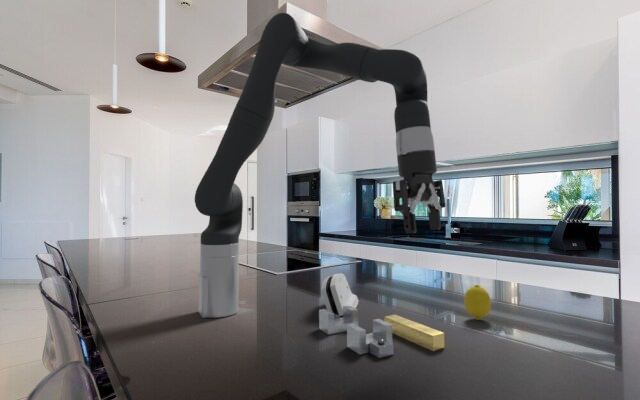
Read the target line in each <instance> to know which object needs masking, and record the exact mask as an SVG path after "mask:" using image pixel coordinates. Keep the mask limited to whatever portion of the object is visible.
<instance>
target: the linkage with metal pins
mask: <svg viewBox="0 0 640 400" xmlns="http://www.w3.org/2000/svg"><path fill="white" fill-rule="evenodd" d="M318 321H319V323H318V326H319V327H318V329H319V330H320V331H322V332H323V333H325V334H327V335H333V334H339V333H344V332H346V347H347V348H349V349H350V350H352V352H353V351H354V352H355V353H357V355H364V354H368V353H369V354H371V355H373V356H374V357H377V358H378V359H382V358H386V357H389V356H393V355H394V343H393V333H392V324H390V323H387V322H385V321H384V320H383V319H381V318H376V319H372V332H370V333H366V332H367V331H366V330H367V329H364V328H363V327H360V326H359V309H358V308H357V307H356V308H353V307H351V306H349V305H347V306H343V315H342V317H341V316H339V315H336V314H334V313H332V312H330V311H328V310H327V308H322V309H319V310H318Z"/></svg>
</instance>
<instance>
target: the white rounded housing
mask: <svg viewBox="0 0 640 400" xmlns="http://www.w3.org/2000/svg"><path fill="white" fill-rule="evenodd" d="M321 295H322V298H323V301H324V304H325V309H326V310H328V311H330V312H332V313H334V314H336V315H338V316H340V317H341V316H342V317H343V306H347V305H349V306H351V307H353V308H356V309H357V306H358V305H359V303H360V301H359V299H358V295H356V294H354V293H353V292H352V290H351V288H350V285H349V283H348V281H347V277H346V276H345V274H344V273H342V272H341V273H340V272H339V273H335V274H333V275H329V276H327V277H326V278H324V280H323V282H322V285H321ZM358 302H359V303H358Z"/></svg>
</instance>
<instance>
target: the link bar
mask: <svg viewBox="0 0 640 400" xmlns="http://www.w3.org/2000/svg"><path fill="white" fill-rule="evenodd" d="M383 321H385V322H387V323H390V324H392V335H393V334H394V335H396V336H398V337H400V338H402V339H405V340H406V341H409V342H412V343H414V344H416V345H419V346H420V347H423V348H425V349H427V350H430V351H432V352H435V351H438V350H442V349H445V332H444V331H443V332H442V331H441V330H437V329H435V328H432V327H429V326H427V325H424V324H421V323H419V322H417V321H413V320H410V319H408V318H405V317H402V316H400V315H397V314H390V315H386V316H384V320H383Z"/></svg>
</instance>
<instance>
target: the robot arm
mask: <svg viewBox="0 0 640 400" xmlns="http://www.w3.org/2000/svg"><path fill="white" fill-rule="evenodd" d="M261 34H262V35H261V37H260V40H259V44H258V47H257V50H256V53H255V57H254V60H253V63H252V65H251V68H250V70H249V73H248V76H247V79H246V81H245V84H244V87H243V90H242V92H241V95H240V96H239V98H238V100H237V102H236V105H235V106H234V109H233V112H232V114H231V115H230V118H229V122H228V124H227V127H226V129H225V130H224V133H223V136H222V138H221V140H220V142H219V144H218V147H217V150H216V152H215V154H214V156H213V158H212V159H211V160H212V161H211V162H210V163H209V165H208V166H207V167H208V168H207V169H206V170H205V173H204V175H203V176H202V178H201V180H200V181H199V183H198V185H197V187H196V190H195V194H194V204H195V207H196V209H197V210H198V212H199V213H200V214H202V215H203V216H207V217H209V221H208V225H207V226H206V228H204V230H203V231H202V232H201V234H200V254H199V255H200V261H199V262H200V269H199V271H200V273H199V274H198V304H197V305H198V306H197V307H198V311H197V312H198V313H199V316H200V317H201V318H203V319H205V318H222V317H223V318H225V317H228V316H233V315H235V314H237V313H238V312H239V304H240V302H239V275H240V274H239V268H240V267H239V263H240V262H239V254H240V252H239V251H240V250H239V249H240V246H239V244H240V243H239V242H240V241H239V238H240V234H241V231H242V228H243V226H242V225H243V212H244V211H243V207H244V205H243V204H244V200H243V199H244V198H243V193H242V191H241V188H240V187H239V186H238V184H236V183H235V181H236V178H237V176H238V173H239V172H240V170H241V168H242V166H243V165H244V163H246V161H247V160H248V159H249V158H250V156H252V154H253V153H254V152H255V151H256V150H257V148H258V147H259V146H260V145H261V144H262V143H263V140H264V139H265V137H266V134H267V133H268V130H269V128H270V126H271V123H272V120H273V118H274V114H275V110H276V109H275V105H276V84H277V78H278V75H279V72H280V70H281V66H282V64H283V65H285V66H288V67H295V68H296V67H297V68H306V69H308V68H309V69H313V70H314V69H315V70H321V71H327V72H332V73H336V74H339V75H342V76H346V77H350V78H353V79H356V80H359V81H363V82H366V83H376V82H378V81H379V82H382V83H383V82H384V83H386V84H390V85H391V86H392V87H393V89H394V95H395V105H396V106H395V108H394V114H393V116H394V117H393V118H394V126H395V127H394V128H395V150H396V159H397V160H396V161H397V169H398V176H399V177H400V178H403V179H399V180H393V182H392V194H393V195H392V196H393V208H394V211H395V212H399V213H400V214H401V215H402V217H403V218H402V219H403V227H404V231H405V234H416V233H417V231H418V230H417V221H416V214H415V210H416V208H417V205H419V204H420V202H421V204H422V205H424V206H425V207H426V209H427V210H428V222H429V229H430V230H431V231H432V230H441V229H442V224H441V223H442V222H441V213H440V212H441V210H442V209H443V208H446V199H445V192H444V185H443V181H442V179H437V180H433V177H432V176H433V175H434V174H436V173H437V170H438V169H437V168H438V167H437V161H436V160H437V159H436V153H435V152H436V151H435V143H434V142H435V141H434V136H433V132H432V128H431V117H430V111H429V105H428V80H427V73H426V70H425V67H424V64H423V62H422V60H421V58H420V56H418V55H416V54H415V53H413V52H411V51H408V50H404V49H391V48H390V49H389V48H387V49H386V48H384V49H381V48H380V49H378V48H375V47H372V46H368V45H363V44H361V43H356V42H339V43H334V44H333V43H332V44H326V43H322V42H319V41H317V40H314V39H313V38H310V37H309V36H307V33H305V31H304V29H303V28H302V27H301V26H300V25H299V23H298V22H297V20H296V19H295V18H294V17H293V16H292V15H290V13H287V12H278V13H277V14H275V15H274V16H272V18H270V19H269V20H268V22H267V24H266V25H265V27H264V30H263V31H262V33H261ZM400 199H401V200H400ZM400 202H401V204H400Z"/></svg>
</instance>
